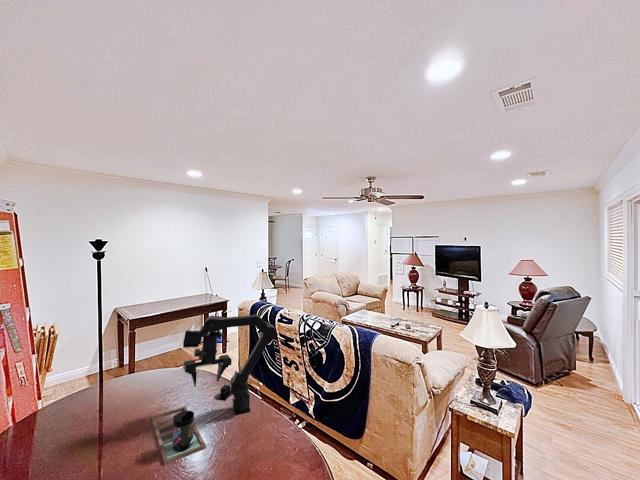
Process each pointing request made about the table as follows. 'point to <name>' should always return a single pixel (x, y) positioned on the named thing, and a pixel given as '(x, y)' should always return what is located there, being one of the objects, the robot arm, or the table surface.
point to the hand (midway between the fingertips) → (206, 383)
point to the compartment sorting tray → (166, 439)
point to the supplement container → (183, 430)
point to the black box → (224, 393)
